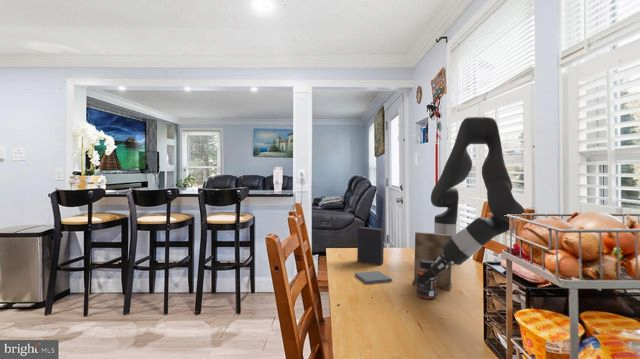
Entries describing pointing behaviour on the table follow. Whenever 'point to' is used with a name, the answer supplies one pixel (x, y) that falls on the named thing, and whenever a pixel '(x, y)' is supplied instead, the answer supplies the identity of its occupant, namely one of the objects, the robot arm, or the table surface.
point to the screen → (432, 255)
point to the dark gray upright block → (370, 245)
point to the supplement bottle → (429, 286)
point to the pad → (373, 277)
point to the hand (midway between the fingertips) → (421, 278)
